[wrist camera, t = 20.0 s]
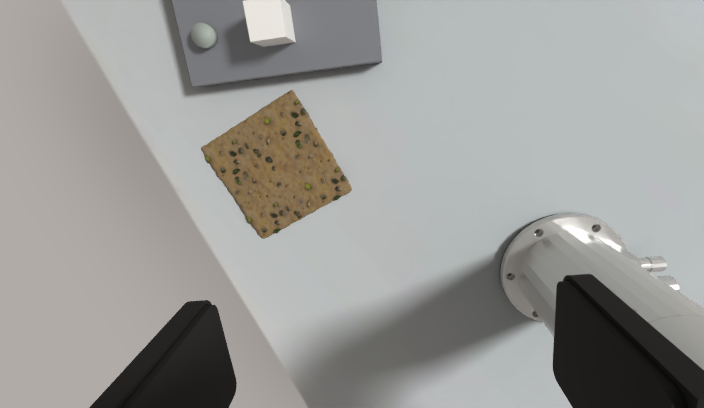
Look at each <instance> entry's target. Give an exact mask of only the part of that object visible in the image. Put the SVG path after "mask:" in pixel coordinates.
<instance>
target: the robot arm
mask: <svg viewBox="0 0 704 408" xmlns="http://www.w3.org/2000/svg"><path fill="white" fill-rule="evenodd" d="M537 229H538V230H537ZM536 230H537V231H536ZM535 231H536V232H535ZM666 267H667V263H666V261H665V259H664V258H663V257H660V256H659V257H646V258H641V259H639V258H637V257H636V256H634V255H633V254H631V253H630V252H628V251H627V249H626V246H625V244H624V242H623V240H622V239H621V237H620V236H619V235H618V234H617V233H616V232H615V231H614V230H613V229H612V228H611V227H609V226H608V225H606V224H605V223H603V222H601V221H599V220H597V219H596V218H594V217H590V216H587V215H583V214H574V213H566V214H556V215H553V216H549V217H545V218H543V219H541V220H538V221H536V222H534V223H532V224H531V225H529V226H528V227H526V228H525V229H523V230H522V231H521V232H520V233H519V234H518V235H517V236H516V237H515V238H514V239H513V241H512V242H511V243H510V245H509V246H508V248H507V250H506V252H505V254H504V256H503V259H502V263H501V272H500V277H501V283H502V286H503V289H504V291H505V294H506V295H507V297H508V298H509V300H510V302H511V303H512V304H513V305H514V306H515V307H516V309H517V310H519V311H520V312H521V313H523V314H524V315H526V316H528V317H529V318H531V319H534V320H537V321H541V322H543V323H544V324H545V326H546V327H547V328H548V330H549V331H550V333H551V334H552V335H553V337H554V352H553V372H554V375H555V378H556V381H557V382H558V384H559V386H560V387H561V389H562V391H563V392H564V394H565V396H566V397H567V399H568V400H569V402H570V404H571V405H572V407H573V408H704V308H702V307H701V306H699V305H698V304H696V303H695V302H693V301H692V300H690V299H689V298H687V297H686V296H684V295H683V294H681V293H680V292H679V285H678V283H677V281H676V280H675V279H674V278H673V277H672V276H657V277H656V276H654V275H653V274H651V273H650V272H652V271H664V270H666ZM648 271H649V272H648ZM235 392H236V378H235V374H234V370H233V366H232V362H231V359H230V355H229V351H228V347H227V343H226V340H225V336H224V332H223V328H222V324H221V321H220V317H219V313H218V309H217V307H216V306H215V305H212V304H211V303H210V301H208V300H205V301H190V302H187V303H185V304H184V305H183V306H182V308H181V309H180V310H179V311H178V312H177V313H176V314H175V315H174V316H173V317H172V319H171V320H170V321H169V322H168V323H167V324H166V325H165V326H164V327H163V328H162V329H161V330H160V332H159V333H158V334H157V335H156V336H155V337H154V338H153V339H152V340H151V341H150V342H149V343H148V345H147V346H146V347H145V348H144V349H143V350H142V351H141V352H140V353H139V354H138V355H137V357H136V358H135V359H134V360H133V361H132V362H131V363H130V364H129V365H128V366H127V367H126V368H125V370H124V371H123V372H122V373H121V374H120V375H119V376H118V377H117V378H116V379H115V381H114V382H113V383H112V384H111V385H110V386H109V387H108V388H107V389H106V390H105V391H104V392H103V394H102V395H101V396H100V397H99V398H98V399H97V400H96V401H95V402H94V403H93V404H92V406H91V407H90V408H229V405H230V403H231V401H232V399H233V397H234V395H235Z"/></svg>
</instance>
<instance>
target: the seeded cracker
mask: <svg viewBox="0 0 704 408" xmlns="http://www.w3.org/2000/svg"><path fill="white" fill-rule="evenodd" d="M201 150H202V151H203V153H204V154H205V158H206V160H207V162H209V163H210V164H211V166H212V167H213V169H214V170H215V171H216V173H217V175H218V176H219V178H220V179H221V180H222V181H223V182H224V184H225V185H226V187H227V188H228V190H229V192H230V193H231V194H232V196H233V197H234V198H235V200H236V202H237V203H238V205H239V206H240V208H241V209H242V211H243V212H244V214H245V215H246V218H247V220H248V222H249V223H251V224H252V225H253V227H254V228H255V229H256V230H257V232H258V234H259V235H260V236H261V237H262V238H267V237H269V236H270V235H272V234H274V233H277V232H279V231H280V230H281V229H283V228H286V227H287V226H289V225H290V224H292V223H293V222H296V221H297V220H300V219H302V218H303V217H305V216H306V215H308V214H310V213H313V212H314V211H316V210H317V209H319V208H320V207H322V206H325V205H327V204H328V203H330V202H332V201H334V200H337V199H338V198H340V197H341V196H343V195H346V194H348V193H349V192H350V191H351V190H352V188H351V186H350V184H349V182H348V180H347V178H346V177H345V176H344V174H343V172H342V171H341V169H340V167H339V166H338V165H337V163H336V160H335V159H334V157H333V155H332V153H331V152H330V151H329V149H328V148H327V146H326V144H325V143H324V141H323V139H322V138H321V136H320V134H319V133H318V131H317V128H315V127H314V125H313V122H312V120H311V119H310V117H309V114H308V113H307V112H306V110H305V109H304V107H303V106H302V104H301V102H300V101H299V100H298V98H297V96H296V95H295V93H294V91H293V90H291V91H289V92H288V93H286V94H284V95H283V96H281V97H279V98H278V99H276V100H275V101H273V102H272V103H270V104H269V105H267V106H265V107H263V108H262V109H260V110H259V111H258V112H257V113H255V114H253V115H252V116H250V117H248V118H247V119H246V120H245V121H243V122H241V123H239V124H238V125H236V126H235V127H233V128H231V129H230V130H228V131H227V132H226V133H224V134H222V135H221V136H219V137H217V138H216V139H215V140H213V141H211V142H210V143H208V144H207V145H205V146H203V147H202V148H201Z"/></svg>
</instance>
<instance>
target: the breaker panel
mask: <svg viewBox="0 0 704 408" xmlns="http://www.w3.org/2000/svg"><path fill="white" fill-rule="evenodd" d="M172 4H173V8H174V12H175V16H176V21H177V25H178V29H179V33H180V38H181V42H182V46H183V50H184V54H185V59H186V63H187V67H188V71H189V76H190V80H191V84H192V86H194V87H204V86H211V85H218V84H226V83H233V82H241V81H248V80H255V79H263V78H270V77H278V76H285V75H293V74H300V73H307V72H315V71H322V70H330V69H337V68H344V67H352V66H359V65H367V64H374V63H381V62H382V56H381V45H380V34H379V23H378V12H377V1H376V0H172Z"/></svg>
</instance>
